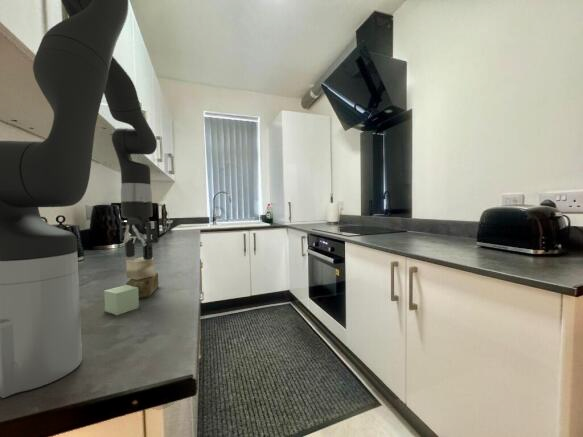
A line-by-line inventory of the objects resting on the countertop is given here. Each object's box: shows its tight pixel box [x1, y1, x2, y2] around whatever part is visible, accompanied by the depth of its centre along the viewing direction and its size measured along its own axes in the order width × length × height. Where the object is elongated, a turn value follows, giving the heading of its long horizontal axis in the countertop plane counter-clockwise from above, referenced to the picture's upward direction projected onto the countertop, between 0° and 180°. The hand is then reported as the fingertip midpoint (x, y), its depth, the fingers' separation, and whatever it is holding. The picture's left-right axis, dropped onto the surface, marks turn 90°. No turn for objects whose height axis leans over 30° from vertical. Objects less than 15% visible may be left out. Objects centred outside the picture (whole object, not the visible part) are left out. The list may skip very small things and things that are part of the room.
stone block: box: [125, 272, 159, 299], centre depth 74 cm, size 6×12×5 cm, turn 15°
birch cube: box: [125, 256, 156, 280], centre depth 73 cm, size 5×5×5 cm
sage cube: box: [103, 284, 140, 316], centre depth 61 cm, size 5×5×5 cm
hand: (138, 257), depth 73 cm, fingers open, 8 cm apart
